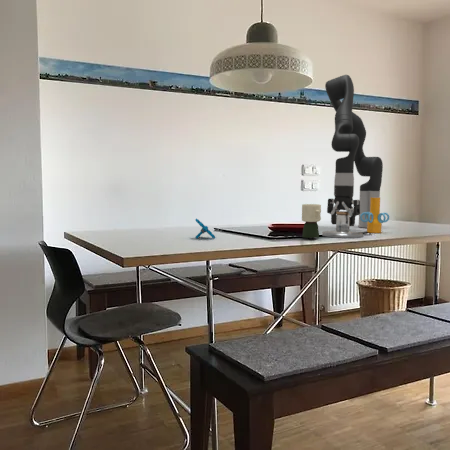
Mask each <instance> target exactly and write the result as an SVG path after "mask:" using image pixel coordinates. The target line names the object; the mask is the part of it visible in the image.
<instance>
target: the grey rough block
mask: <svg viewBox="0 0 450 450" xmlns="http://www.w3.org/2000/svg"><path fill="white" fill-rule="evenodd" d="M349 217H350V215H349V213H348V212H347V211H346V210H340V211H336V224H335V225H336V226H335V231H336V232H349V231H350V226H349Z"/></svg>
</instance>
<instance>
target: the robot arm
mask: <svg viewBox="0 0 450 450" xmlns="http://www.w3.org/2000/svg"><path fill="white" fill-rule="evenodd" d="M325 92H326V95H327V96H328V99H329V101H330V103H331V106H332V108H333V109H334V111H335V115H334V133H333V137H332V140H331V148H332V150H333V151H334V152H338V153H341V152H342V153H344V152H345V153H346V152H347V153H348V154H347V156H344V157H339V158H337V159H335V175H334V181H333V182H334V183H333V184H334V186H333V196H334V198H328V199H327V206H326V207H327V208H326V212H327V214H329V215H330V223H331V225H336V211H347V212H348V213H349V215H350V217H349V227H354V226H355V224H356V217H357V216H358V227H359V228H362V229H364V228H365V229H367V222H363V221H361V219H360V215H361V214H362V213H364V212H370V198H371V197H378V198H380V199H381V187H382V178H383V170H384V169H383V168H384V167H383V165H384V164H383V160H382V158H381V157H379V156H366V155H365V153H364V148H363V147H364V144H365V140H366V137H367V130H366V127H365V124H364V122H363V119H362V118H361V117H360V116H359V115H358V114H356V113H355V112H353V106H354V96H355V95H354V94H355V88H354V83H353V80H352V78H351V76H350V75H348V74H343V75H340V76H338V77H335V78H332V79H329V80H328V81H326V82H325ZM341 100H342V101H341ZM354 165H355V166H354ZM354 167H355V169H356V172H357V173H358V175H359V176H361V177H366V178H367V177H369V180H368V181H365V182H364V183H362V184H360V185H359V199H353V198H354V187H355V176H354V171H355V169H354ZM364 216H365V214H364V215H362V219H363V220H365V217H364ZM366 218H367V219H368V215H366Z"/></svg>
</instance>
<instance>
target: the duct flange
mask: <svg viewBox="0 0 450 450" xmlns="http://www.w3.org/2000/svg"><path fill="white" fill-rule="evenodd" d="M321 235H322V236H323V237H325V238H336V239H361V238H363V237H364V233H363V232H361V231H360V232H359V231H353V230H352V231H351V230H349V232H336V230H327V231H326V230H324V231H322V232H321Z"/></svg>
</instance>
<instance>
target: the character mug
mask: <svg viewBox="0 0 450 450" xmlns="http://www.w3.org/2000/svg"><path fill="white" fill-rule="evenodd" d="M321 212H322V204H316V203H313V204H312V203H305V204H304V203H303V204H301V221H302V222H305V223H304V224H303V229H302V236H301V237H302V238H305V239H310V238H311V239H312V240H314V239H315V238H317V239H318V238H320V233H319V232H320V231H319V225H318V222H320V221H321V220H322V217H321V214H322V213H321Z"/></svg>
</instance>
